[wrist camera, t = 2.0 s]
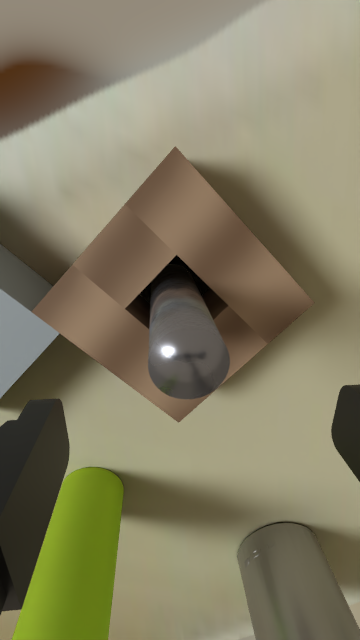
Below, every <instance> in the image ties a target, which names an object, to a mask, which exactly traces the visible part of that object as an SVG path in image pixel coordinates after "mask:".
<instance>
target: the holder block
mask: <svg viewBox="0 0 360 640" xmlns="http://www.w3.org/2000/svg"><path fill="white" fill-rule="evenodd" d="M176 255H177V256H178V257H179V258H180V259H181V260H183V261H184V262H185V263H186V264H187V265H188V266H189V267H190V268H191V269H192V270H193V271H194V272H195V273H196V274H197V275H198V276H199V277H200V278H201V279H202V280H203V281H204V282H205V283H206V284H207V285H208V286H209V287H210V289H209V290H208V291H207V292H206V293H205V294H204V295H203V296H202V298H203V300H204V302H205V304H206V306H207V308H208V310H209V312H210V314H211V316H212V318H213V320H214V322H215V324H216V327H217V329H218V331H219V333H220V335H221V337H222V339H223V341H224V343H225V345H226V347H227V349H228V352H229V357H230V366H229V371H228V373H227V376H226V378H225V379H224V381H223V382H222V384H223V383H224V382H225V381H226V380H227V379H229V378H230V377H231V376H232V375H233V374H234V373H235V372H237V371H238V370H239V369H240V368H241V367H242V366H243V365H244V364H246V363H247V362H248V361H249V360H250V359H251V358H252V357H254V356H255V355H256V354H257V353H258V352H259V351H260V350H262V349H263V348H264V347H265V346H266V345H267V344H268V343H269V342H271V341H272V340H273V339H274V338H275V337H276V336H277V335H279V334H280V333H281V332H282V331H283V330H284V329H285V328H286V327H288V326H289V325H290V324H291V323H292V322H293V321H294V320H296V319H297V318H298V317H299V316H300V315H301V314H302V313H304V312H305V311H306V310H307V309H308V308H309V307H310V306H311V305H313V304H314V302H313V300H312V299H311V298H310V297H309V296H308V295H307V294H306V293H305V291H304V290H303V289H302V288H301V287H300V286H299V285H298V284H297V282H296V281H295V280H294V279H293V278H292V277H291V276H290V275H289V273H288V272H287V271H286V270H285V269H284V268H283V267H282V266H281V264H280V263H279V262H278V261H277V260H276V259H275V258H274V257H273V255H272V254H271V253H270V252H269V251H268V250H267V249H266V248H265V246H264V245H263V244H262V243H261V242H260V241H259V240H258V239H257V237H256V236H255V235H254V234H253V233H252V232H251V231H250V230H249V228H248V227H247V226H246V225H245V224H244V223H243V222H242V221H241V219H240V218H239V217H238V216H237V215H236V214H235V213H234V212H233V210H232V209H231V208H230V207H229V206H228V205H227V204H226V203H225V202H224V200H223V199H222V198H221V197H220V196H219V195H218V194H217V193H216V191H215V190H214V189H213V188H212V187H211V186H210V185H209V184H208V182H207V181H206V180H205V179H204V178H203V177H202V176H201V175H200V173H199V172H198V171H197V170H196V169H195V168H194V167H193V166H192V164H191V163H190V162H189V161H188V160H187V159H186V158H185V157H184V155H183V154H182V153H181V152H180V151H179V150H178V149H177V148H176V146H175V147H174V148H173V149H172V151H171V152H170V153H169V154H168V155H167V156H166V158H165V159H164V160H163V161H162V162H161V163H160V164H159V166H158V167H157V168H156V169H155V170H154V171H153V172H152V174H151V175H150V176H149V177H148V178H147V179H146V181H145V182H144V183H143V184H142V185H141V186H140V187H139V189H138V190H137V191H136V192H135V193H134V194H133V195H132V197H131V198H130V199H129V200H128V201H127V202H126V203H125V205H124V206H123V207H122V208H121V209H120V210H119V212H118V213H117V214H116V215H115V216H114V217H113V218H112V220H111V221H110V222H109V223H108V224H107V225H106V226H105V228H104V229H103V230H102V231H101V232H100V233H99V235H98V236H97V237H96V238H95V239H94V240H93V241H92V243H91V244H90V245H89V246H88V247H87V248H86V249H85V251H84V252H83V253H82V254H81V255H80V256H79V257H78V259H77V260H76V261H75V262H74V263H73V264H72V266H71V267H70V268H69V269H68V270H67V271H66V272H65V274H64V275H63V276H62V277H61V278H60V279H59V280H58V282H57V283H56V284H55V285H54V286H53V287H52V288H51V290H50V291H49V292H48V293H47V294H46V295H45V297H44V298H43V299H42V300H41V301H40V302H39V303H38V305H37V306H36V307H35V308H34V309H33V310H32V311H31V312H32V313H33V314H35V315H36V316H37V317H39V318H40V319H41V320H43V321H44V322H45V323H47V324H48V325H49V326H51V327H52V328H53V329H55V330H56V331H57V332H59V333H60V334H61V335H63V336H64V337H65V338H67V339H68V340H69V341H71V342H72V343H73V344H75V345H76V346H77V347H79V348H80V349H81V350H83V351H84V352H85V353H87V354H88V355H89V356H91V357H92V358H93V359H95V360H96V361H97V362H99V363H100V364H101V365H103V366H104V367H105V368H107V369H108V370H109V371H111V372H112V373H113V374H115V375H116V376H117V377H119V378H120V379H121V380H123V381H124V382H125V383H127V384H128V385H129V386H131V387H132V388H133V389H135V390H136V391H137V392H139V393H140V394H141V395H143V396H144V397H145V398H147V399H148V400H149V401H151V402H152V403H153V404H155V405H156V406H157V407H159V408H160V409H161V410H163V411H164V412H165V413H167V414H168V415H169V416H171V417H172V418H173V419H175V420H176V421H177V422H180V421H181V420H182V419H183V418H184V417H185V416H187V415H188V414H189V413H190V412H191V411H192V410H193V409H195V408H196V407H197V406H198V405H199V404H200V403H201V402H202V401H204V400H205V399H206V398H207V397H208V396H209V395H210V394H212V393H213V392H214V391H215V390H216V389H215V390H214V391H213V392H211V393H210V394H208V395H206V396H203V397H200V398H196V399H178V398H174V397H171V396H168V395H166V394H165V393H163V392H162V391H160V390H159V389H158V388H157V387H156V386H155V384H154V383H153V381H152V380H151V377H150V375H149V371H148V353H149V328H150V303H149V302H147V301H146V300H145V299H144V298H143V297H142V296H141V295H140V294H139V293H140V292H141V291H142V290H143V289H144V288H145V287H146V286H147V285H148V284H149V283H150V282H151V281H152V280H153V279H154V278H155V277H156V276H157V275H158V274H159V273H160V272H161V271H162V269H163V268H164V267H165V266H166V265H167V264H168V263H169V262H170V261H171V260H172V259H173V258H174V257H175V256H176ZM222 384H221V385H222ZM221 385H220V386H221ZM220 386H219V387H220Z"/></svg>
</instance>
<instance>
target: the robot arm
mask: <svg viewBox="0 0 360 640" xmlns="http://www.w3.org/2000/svg"><path fill="white" fill-rule="evenodd" d="M331 433H332V439H333V443H334V445H335V447H336V449H337V451H338V452H339V454H340V455H341V456H342V458H343V459H344V461H345V462H346V463H347V465H348V466H349V468H350V469H351V470H352V472H353V473H354V475H355V476H356V477H357V479H358V480H359V482H360V385H345V386H343V387H342V388H341V390H340V392H339V396H338V401H337V405H336V410H335V414H334V419H333V423H332V429H331ZM68 460H69V439H68V433H67V428H66V422H65V416H64V410H63V405H62V402H61V400H60V399H44V400H30V401H29V402H28V403H27V404H26V406H25V408H24V409H23V411H22V413H21V414H20V416H19V418H18V419H17V420H10V421H7V422H5V423H4V424H3V425H2V426H1V427H0V615H1V612H2V611H9V610H20V609H22V607H23V603H24V600H25V597H26V594H27V591H28V588H29V585H30V581H31V578H32V575H33V572H34V569H35V566H36V563H37V560H38V556H39V553H40V550H41V547H42V544H43V541H44V538H45V534H46V531H47V528H48V525H49V522H50V519H51V516H52V513H53V509H54V506H55V503H56V500H57V497H58V494H59V491H60V488H61V484H62V481H63V478H64V475H65V472H66V469H67V465H68ZM237 558H238V564H239V568H240V572H241V577H242V581H243V585H244V590H245V594H246V598H247V604H248V608H249V612H250V617H251V621H252V625H253V630H254V634H255V638H256V640H360V629H359V627H358V625H357V623H356V620H355V618H354V616H353V614H352V612H351V610H350V608H349V606H348V604H347V601H346V599H345V597H344V595H343V593H342V591H341V589H340V587H339V585H338V583H337V580H336V578H335V576H334V574H333V572H332V570H331V567H330V565H329V563H328V561H327V559H326V557H325V555H324V553H323V551H322V549H321V547H320V544H319V542H318V540H317V538H316V536H315V535H314V533H313V532H312V531H311V530H309V529H308V528H307V527H304V526H302V525H299V524H294V523H280V524H274V525H270V526H266V527H264V528H262V529H259V530H257V531H256V532H254V533H252V534H251V535H250V536H249V537H247V538H246V539H245V540H244V542H243V543H242V544H241V546H240V548H239V550H238V555H237Z"/></svg>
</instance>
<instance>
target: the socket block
mask: <svg viewBox="0 0 360 640" xmlns="http://www.w3.org/2000/svg"><path fill="white" fill-rule="evenodd" d="M52 287H53V286H52V285H51V284H50V283H49V282H47V281H46V280H45V279H44V278H42V277H41V276H40V275H39V274H37V273H36V272H35V271H34V270H32V269H31V268H30V267H29V266H27V265H26V264H25V263H24V262H22V261H21V260H20V259H19V258H17V257H16V256H15V255H14V254H12V253H11V252H10V251H9V250H7V249H6V248H5V247H4V246H2V245H1V244H0V398H1V397H2V396H3V395H4V394H5V392H6V391H7V390H8V389H9V388H10V387H11V386H12V385H13V384H14V383H15V382H16V380H17V379H18V378H19V377H20V376H21V375H22V374H23V373H24V372H25V371H26V370H27V368H28V367H29V366H30V365H31V364H32V363H33V362H34V361H35V360H36V359H37V358H38V356H39V355H40V354H41V353H42V352H43V351H44V350H45V349H46V348H47V347H48V346H49V344H50V343H51V342H52V341H53V340H54V339H55V338H56V337H57V336H58V335H59V334H60V333H59V332H57V331H56V330H55V329H53V328H52V327H51V326H49V325H48V324H47V323H45V322H44V321H43V320H41V319H40V318H39V317H37V316H36V315H35V314H33V313H32V312H31V311H32V310H33V309H34V308H35V307H36V306H37V305H38V303H39V302H40V301H41V300H42V299H43V298H44V297H45V295H46V294H47V293H48V292H49V291H50V290H51V288H52Z"/></svg>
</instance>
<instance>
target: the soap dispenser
mask: <svg viewBox="0 0 360 640" xmlns="http://www.w3.org/2000/svg"><path fill="white" fill-rule="evenodd" d="M123 493H124V488H123V484H122V482H121V480H120V479H119V478H118V477H117V476H116V475H115V474H114V473H112V472H110V471H108V470H106V469H102V468H97V467H88V468H82V469H79V470H76V471H74V472H72V473H71V474H69V475H68V476H67V477H66V478H65V480H64V481H63V484H62V486H61V489H60V493H59V496H58V499H57V502H56V505H55V508H54V511H53V514H52V517H51V520H50V523H49V526H48V529H47V533H46V536H45V539H44V542H43V545H42V548H41V551H40V554H39V557H38V560H37V563H36V566H35V570H34V573H33V576H32V579H31V582H30V585H29V588H28V591H27V594H26V597H25V600H24V603H23V607H22V610H21V613H20V616H19V619H18V622H17V625H16V628H15V631H14V634H13V637H12V640H108V634H109V625H110V615H111V606H112V597H113V587H114V578H115V568H116V559H117V550H118V540H119V531H120V521H121V512H122V502H123Z"/></svg>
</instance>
